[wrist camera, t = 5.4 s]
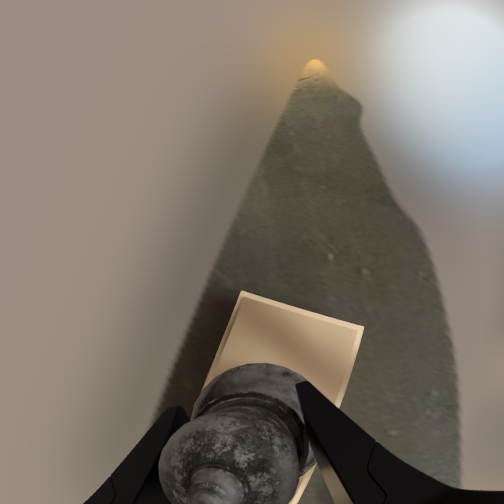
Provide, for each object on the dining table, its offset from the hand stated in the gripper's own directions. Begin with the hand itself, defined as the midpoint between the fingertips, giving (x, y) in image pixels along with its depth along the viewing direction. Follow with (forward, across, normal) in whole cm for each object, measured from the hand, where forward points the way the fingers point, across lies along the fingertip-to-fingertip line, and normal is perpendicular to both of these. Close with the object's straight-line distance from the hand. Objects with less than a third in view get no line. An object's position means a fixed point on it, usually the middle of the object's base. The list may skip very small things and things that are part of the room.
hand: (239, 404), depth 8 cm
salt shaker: (+4, 0, +6) cm, 7 cm away
